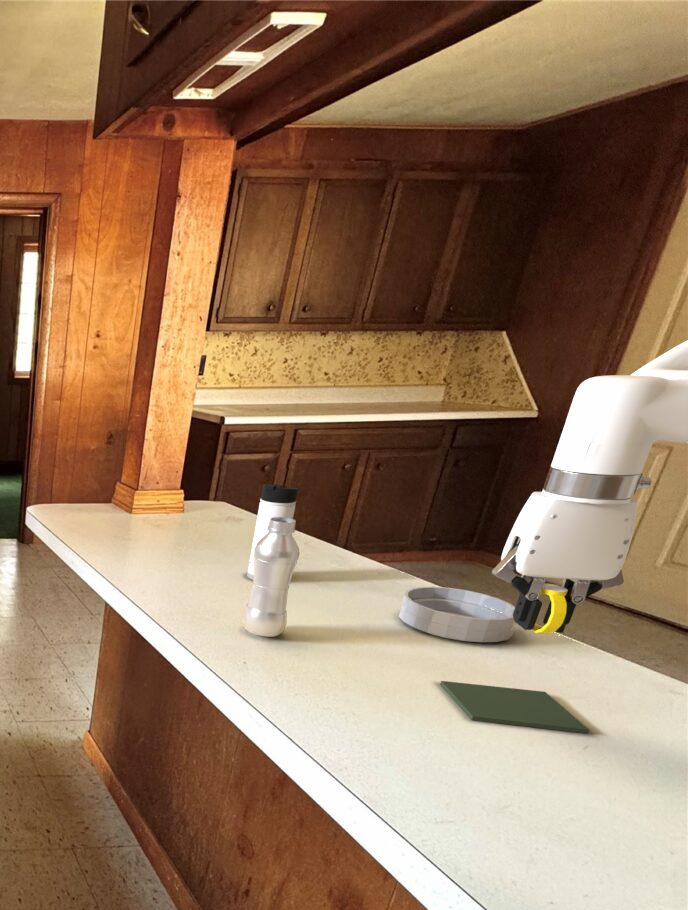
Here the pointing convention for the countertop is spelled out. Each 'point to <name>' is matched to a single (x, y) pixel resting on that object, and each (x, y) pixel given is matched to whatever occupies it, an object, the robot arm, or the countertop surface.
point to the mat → (512, 707)
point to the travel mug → (272, 512)
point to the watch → (553, 608)
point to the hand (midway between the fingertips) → (537, 626)
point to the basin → (458, 614)
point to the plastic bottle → (272, 579)
